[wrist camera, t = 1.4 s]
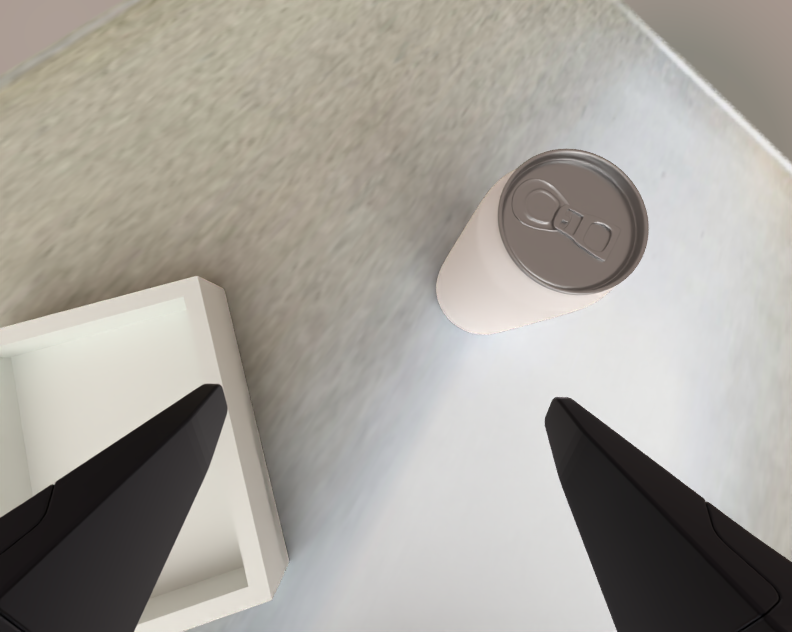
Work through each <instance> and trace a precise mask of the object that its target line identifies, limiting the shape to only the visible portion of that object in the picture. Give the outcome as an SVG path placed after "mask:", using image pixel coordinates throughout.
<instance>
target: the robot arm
mask: <svg viewBox="0 0 792 632" xmlns="http://www.w3.org/2000/svg"><path fill="white" fill-rule="evenodd" d="M227 411H228V407H227V402H226V398H225V395H224V391H223V388H222V386H221V385H220V384H208V383H207V384H203V385H201V386H199V387H198V388H196V389H195V390H193V391H192V392H190V393H189V394H187V395H186V396H184V397H183V398H181V399H180V400H178V401H177V402H175V403H174V404H172V405H171V406H169V407H168V408H166V409H165V410H163V411H162V412H160V413H159V414H157V415H156V416H154V417H153V418H151V419H150V420H148V421H146V422H145V423H143V424H142V425H140V426H139V427H137V428H136V429H134V430H133V431H131V432H130V433H128V434H127V435H125V436H124V437H122V438H121V439H119V440H118V441H116V442H115V443H113V444H112V445H110V446H109V447H107V448H106V449H104V450H103V451H101V452H100V453H98V454H97V455H95V456H94V457H92V458H91V459H89V460H87V461H86V462H84V463H83V464H81V465H80V466H78V467H77V468H75V469H74V470H72V471H71V472H69V473H68V474H66V475H65V476H63V477H62V478H60V479H59V480H57V481H56V482H55V485H54V484H51V485H49V486H48V487H46V488H45V489H43V490H42V491H40V492H39V493H37V494H36V495H34V496H33V497H31V498H30V499H28V500H27V501H25V502H24V503H22V504H20V505H19V506H17V507H16V508H14V509H13V510H11V511H9V512H8V513H6V514H5V515H3V516H2V517H0V632H134V631H135V629H136V626H137V624H138V622H139V620H140V618H141V615H142V613H143V611H144V609H145V607H146V605H147V602H148V600H149V598H150V596H151V594H152V592H153V589H154V587H155V585H156V583H157V581H158V578H159V576H160V574H161V572H162V570H163V568H164V565H165V563H166V561H167V559H168V557H169V554H170V552H171V550H172V548H173V546H174V544H175V541H176V539H177V537H178V535H179V533H180V531H181V528H182V526H183V524H184V522H185V520H186V517H187V515H188V513H189V511H190V509H191V507H192V504H193V502H194V500H195V498H196V496H197V493H198V491H199V489H200V487H201V485H202V483H203V480H204V478H205V476H206V474H207V471H208V469H209V466H210V463H211V461H212V458H213V455H214V452H215V449H216V446H217V443H218V440H219V437H220V434H221V431H222V428H223V425H224V422H225V419H226V416H227ZM545 428H546V431H547V435H548V439H549V443H550V446H551V450H552V454H553V458H554V462H555V465H556V469H557V473H558V476H559V479H560V482H561V485H562V488H563V490H564V493H565V496H566V498H567V501H568V504H569V506H570V509H571V511H572V514H573V517H574V519H575V522H576V525H577V527H578V530H579V532H580V535H581V538H582V540H583V543H584V546H585V548H586V551H587V553H588V556H589V559H590V561H591V564H592V567H593V569H594V572H595V574H596V577H597V580H598V582H599V585H600V588H601V590H602V593H603V595H604V598H605V601H606V603H607V606H608V609H609V611H610V614H611V616H612V619H613V622H614V624H615V627H616V630H617V632H792V562H791V561H789V560H788V559H786V558H785V557H784V556H782V555H781V554H779V553H778V552H776V551H775V550H774V549H772V548H771V547H769V546H768V545H766V544H765V543H763V542H762V541H761V540H759V539H758V538H756V537H755V536H754V535H752V534H751V533H749V532H748V531H747V530H745V529H744V528H743V527H741V526H740V525H739V524H737V523H736V522H734V521H733V520H732V519H730V518H729V517H728V516H726V515H725V514H724V513H722V512H721V511H720V510H718V509H717V508H716V507H714V506H713V505H712V504H710V503H709V502H705V500H704V498H702V497H701V496H700V495H698V494H697V493H696V492H694V491H693V490H692V489H690V488H689V487H688V486H686V485H685V484H684V483H682V482H681V481H680V480H679V479H677V478H676V477H675V476H673V475H672V474H671V473H669V472H668V471H667V470H665V469H664V468H663V467H661V466H660V465H659V464H657V463H656V462H655V461H653V460H652V459H651V458H649V457H648V456H647V455H645V454H644V453H643V452H641V451H640V450H639V449H637V448H636V447H635V446H633V445H632V444H631V443H630V442H628V441H627V440H626V439H624V438H623V437H622V436H620V435H619V434H618V433H616V432H615V431H614V430H612V429H611V428H610V427H608V426H607V425H606V424H604V423H603V422H602V421H600V420H599V419H598V418H596V417H595V416H594V415H592V414H591V413H590V412H588V411H587V410H586V409H584V408H583V407H582V406H581V405H579V404H578V403H577V402H575V401H574V400H572V399H571V398H568V397H555V398H554V399H553V400H552V402H551V404H550V407H549V409H548V412H547V414H546V417H545Z"/></svg>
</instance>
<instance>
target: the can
mask: <svg viewBox="0 0 792 632" xmlns="http://www.w3.org/2000/svg"><path fill="white" fill-rule="evenodd" d="M648 228H649V227H648V217H647V212H646V208H645V205H644V202H643V199H642V197H641V195H640V193H639V191H638V190H637V188H636V186H635V185H634V184H633V182H632V181H631V180H630V179H629V177H628V176H627V175H626V174H625V173H624V172H623V171H622V170H621V169H619V168H618V167H617V166H616V165H614V164H613V163H611V162H610V161H608V160H606V159H605V158H603V157H600V156H598V155H596V154H593V153H590V152H587V151H582V150H576V149H557V150H551V151H547V152H544V153H541V154H538V155H536V156H534V157H532V158H530V159H529V160H527V161H526V162H524V163H523V164H522V165H520V166H519V167H518V168H517V169H515V170H513V171H512V172H510V173H508V174H507V175H505V176H504V177H502V178H501V179H500V180H499V181H498V182H497V183H496V184H495V185H494V186H493V187H492V188H491V189H490V190H489V191H488V193H487V194H486V196H485V197H484V198H483V200H482V201H481V203H480V204H479V206H478V207H477V209H476V211H475V212H474V214H473V215H472V217H471V219H470V220H469V222H468V223H467V225H466V227H465V228H464V230H463V231H462V233H461V235H460V236H459V238H458V240H457V241H456V243H455V245H454V246H453V248H452V249H451V251H450V253H449V254H448V256H447V258H446V259H445V261H444V263H443V265H442V267H441V269H440V272H439V275H438V278H437V284H436V293H437V298H438V302H439V305H440V307H441V309H442V311H443V312H444V314H445V315H446V317H447V318H448V319H449V320H450V321H451V322H452V323H453V324H454V325H456V326H457V327H459V328H460V329H462V330H464V331H467V332H470V333H473V334H479V335H489V334H495V333H499V332H503V331H507V330H511V329H515V328H518V327H522V326H526V325H529V324H533V323H536V322H540V321H544V320H547V319H551V318H554V317H558V316H561V315H565V314H568V313H571V312H574V311H577V310H580V309H583V308H585V307H588V306H590V305H592V304H594V303H595V302H597V301H599V300H600V299H602V298H603V297H604V296H605V295H607V294H608V293H609V292H610V291H611V290H612V289H613V288H614V286H616V285H618V284H619V283H621V282H622V281H623V280H625V279H626V278H627V277H628V276H629V275H630V274H631V273H632V272H633V271H634V270H635V268H636V267H637V265H638V264H639V262H640V260H641V258H642V256H643V254H644V252H645V249H646V245H647V240H648Z"/></svg>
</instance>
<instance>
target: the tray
mask: <svg viewBox="0 0 792 632" xmlns="http://www.w3.org/2000/svg"><path fill="white" fill-rule="evenodd" d="M207 383H208V384H220V385H221V386H222V388H223V391H224V395H225V398H226V402H227V407H228V411H227V416H226V419H225V422H224V425H223V428H222V431H221V434H220V437H219V440H218V443H217V446H216V449H215V452H214V455H213V458H212V461H211V463H210V466H209V469H208V471H207V474H206V476H205V478H204V480H203V483H202V485H201V487H200V489H199V491H198V493H197V496H196V498H195V500H194V502H193V504H192V507H191V509H190V511H189V513H188V515H187V517H186V520H185V522H184V524H183V526H182V528H181V531H180V533H179V535H178V537H177V539H176V541H175V544H174V546H173V548H172V550H171V552H170V554H169V557H168V559H167V561H166V563H165V565H164V568H163V570H162V572H161V574H160V576H159V578H158V581H157V583H156V585H155V587H154V589H153V592H152V594H151V596H150V598H149V600H148V602H147V605H146V607H145V609H144V611H143V613H142V615H141V618H140V620H139V622H138V624H137V626H136V629H135V631H134V632H183V631H185V630H188V629H191V628H194V627H197V626H200V625H202V624H205V623H208V622H211V621H214V620H217V619H220V618H222V617H225V616H228V615H231V614H234V613H237V612H240V611H242V610H245V609H248V608H251V607H254V606H257V605H259V604H262V603H265V602H268V601H271V600H272V599H273V597H274V595H275V593H276V590H277V588H278V586H279V584H280V582H281V580H282V577H283V575H284V573H285V571H286V569H287V567H288V564H289V558H288V553H287V549H286V545H285V541H284V537H283V532H282V528H281V524H280V520H279V516H278V511H277V507H276V503H275V499H274V495H273V491H272V486H271V482H270V478H269V474H268V470H267V465H266V461H265V457H264V453H263V449H262V445H261V440H260V436H259V432H258V428H257V424H256V419H255V415H254V411H253V407H252V403H251V399H250V394H249V390H248V386H247V382H246V378H245V373H244V369H243V365H242V361H241V357H240V352H239V348H238V344H237V340H236V336H235V332H234V327H233V323H232V319H231V315H230V311H229V306H228V302H227V298H226V294H225V290H224V288H222V287H220V286H218V285H216V284H214V283H212V282H210V281H207V280H205V279H203V278H201V277H199V276H194V277H190V278H186V279H183V280H179V281H175V282H171V283H168V284H164V285H160V286H156V287H153V288H149V289H145V290H141V291H137V292H134V293H130V294H126V295H122V296H119V297H115V298H111V299H107V300H104V301H100V302H96V303H92V304H89V305H85V306H81V307H77V308H74V309H70V310H66V311H62V312H59V313H55V314H51V315H47V316H44V317H40V318H36V319H32V320H28V321H25V322H21V323H17V324H13V325H10V326H6V327H2V328H0V517H2V516H3V515H5V514H6V513H8V512H9V511H11V510H13V509H14V508H16V507H17V506H19V505H20V504H22V503H24V502H25V501H27V500H28V499H30V498H31V497H33V496H34V495H36V494H37V493H39V492H40V491H42V490H43V489H45V488H46V487H48V486H49V485H51V484H54V485H55V482H56V481H57V480H59V479H60V478H62V477H63V476H65V475H66V474H68V473H69V472H71V471H72V470H74V469H75V468H77V467H78V466H80V465H81V464H83V463H84V462H86V461H87V460H89V459H91V458H92V457H94V456H95V455H97V454H98V453H100V452H101V451H103V450H104V449H106V448H107V447H109V446H110V445H112V444H113V443H115V442H116V441H118V440H119V439H121V438H122V437H124V436H125V435H127V434H128V433H130V432H131V431H133V430H134V429H136V428H137V427H139V426H140V425H142V424H143V423H145V422H146V421H148V420H150V419H151V418H153V417H154V416H156V415H157V414H159V413H160V412H162V411H163V410H165V409H166V408H168V407H169V406H171V405H172V404H174V403H175V402H177V401H178V400H180V399H181V398H183V397H184V396H186V395H187V394H189V393H190V392H192V391H193V390H195V389H196V388H198V387H199V386H201V385H203V384H207Z"/></svg>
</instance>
